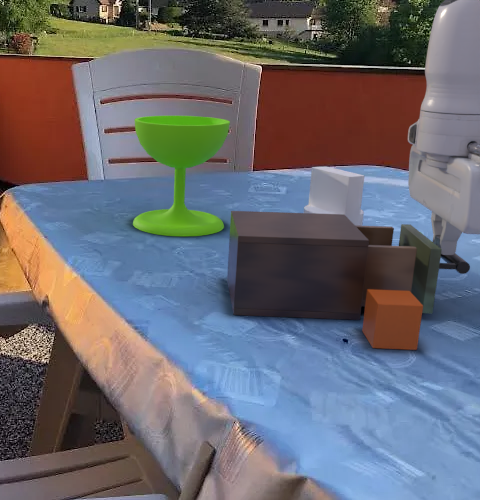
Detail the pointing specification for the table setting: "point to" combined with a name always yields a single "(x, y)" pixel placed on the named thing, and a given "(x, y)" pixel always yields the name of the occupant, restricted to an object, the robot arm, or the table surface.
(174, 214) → the wineglass
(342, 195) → the base with upright slab
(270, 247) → the cabinet
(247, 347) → the table surface
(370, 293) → the burnt orange cube
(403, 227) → the drawer
